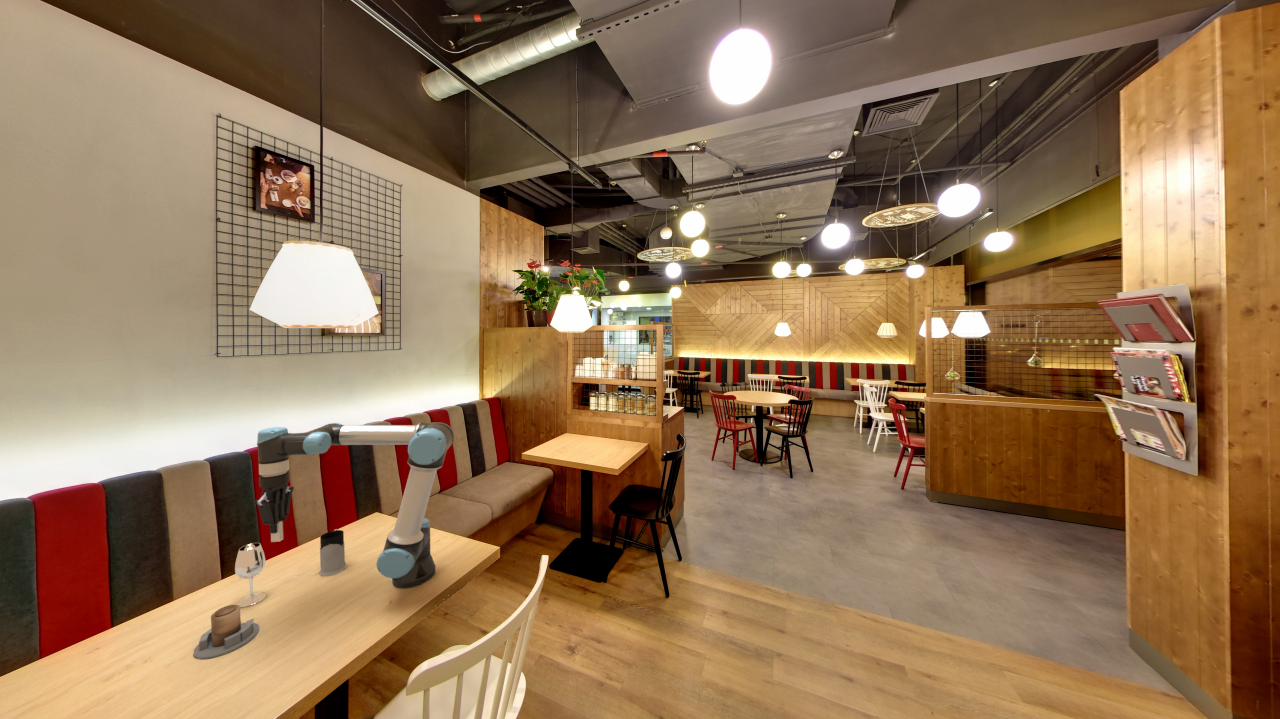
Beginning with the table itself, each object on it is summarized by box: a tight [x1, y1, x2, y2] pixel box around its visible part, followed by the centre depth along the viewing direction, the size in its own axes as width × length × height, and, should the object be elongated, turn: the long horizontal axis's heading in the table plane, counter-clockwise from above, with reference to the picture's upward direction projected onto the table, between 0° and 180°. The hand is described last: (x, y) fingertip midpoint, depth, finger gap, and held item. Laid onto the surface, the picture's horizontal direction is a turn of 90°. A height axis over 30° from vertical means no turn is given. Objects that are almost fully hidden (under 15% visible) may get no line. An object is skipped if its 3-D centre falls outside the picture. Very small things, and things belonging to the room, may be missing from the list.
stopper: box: [210, 604, 242, 647], centre depth 120 cm, size 6×6×10 cm
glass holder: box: [319, 528, 347, 577], centre depth 161 cm, size 9×14×15 cm, turn 30°
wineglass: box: [234, 542, 267, 608], centre depth 139 cm, size 8×8×20 cm
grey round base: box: [193, 618, 260, 660], centre depth 120 cm, size 14×14×4 cm
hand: (277, 540), depth 132 cm, fingers closed
